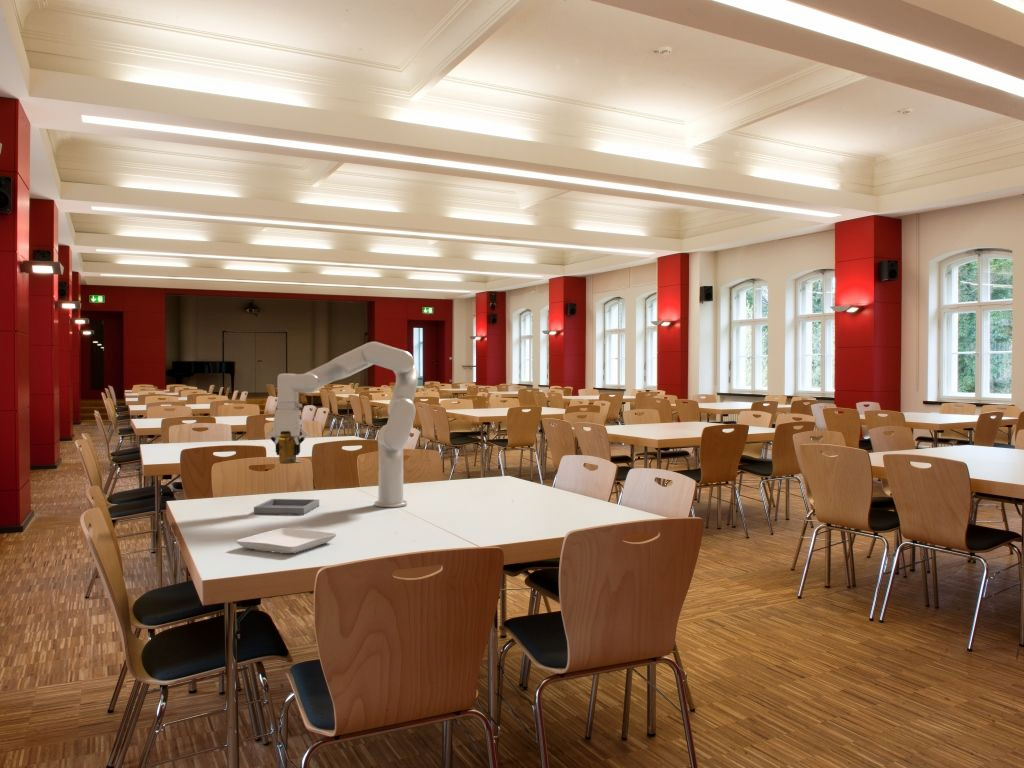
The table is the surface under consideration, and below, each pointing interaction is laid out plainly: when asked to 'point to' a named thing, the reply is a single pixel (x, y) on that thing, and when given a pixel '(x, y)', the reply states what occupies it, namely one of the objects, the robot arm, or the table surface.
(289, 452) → the condiment
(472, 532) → the table surface
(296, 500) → the tray
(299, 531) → the salad plate
